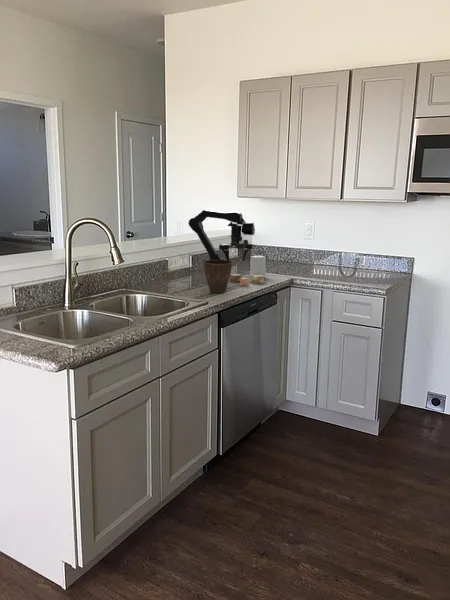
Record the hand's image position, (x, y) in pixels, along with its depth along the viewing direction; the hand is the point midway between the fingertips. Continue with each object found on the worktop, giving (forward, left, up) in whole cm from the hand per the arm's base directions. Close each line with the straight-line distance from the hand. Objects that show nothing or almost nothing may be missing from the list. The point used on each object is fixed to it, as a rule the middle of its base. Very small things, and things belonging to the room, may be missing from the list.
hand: (235, 261), depth 292 cm
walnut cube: (0, 0, -12) cm, 12 cm away
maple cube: (+10, -9, -11) cm, 18 cm away
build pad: (+10, -9, -12) cm, 18 cm away
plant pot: (-20, -24, -12) cm, 34 cm away
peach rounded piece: (0, -13, -12) cm, 17 cm away
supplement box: (+18, +8, -12) cm, 23 cm away
